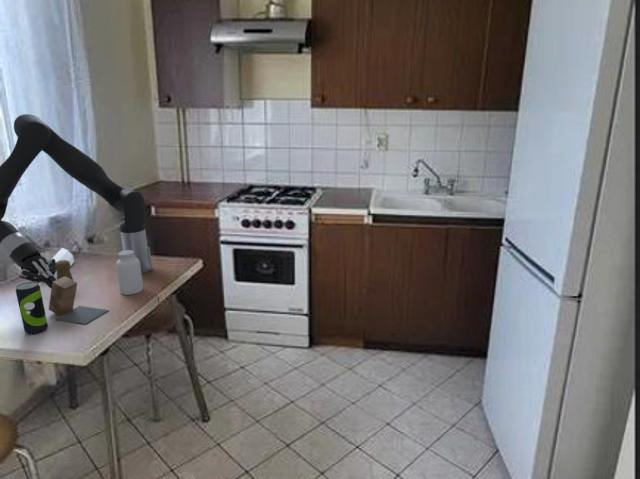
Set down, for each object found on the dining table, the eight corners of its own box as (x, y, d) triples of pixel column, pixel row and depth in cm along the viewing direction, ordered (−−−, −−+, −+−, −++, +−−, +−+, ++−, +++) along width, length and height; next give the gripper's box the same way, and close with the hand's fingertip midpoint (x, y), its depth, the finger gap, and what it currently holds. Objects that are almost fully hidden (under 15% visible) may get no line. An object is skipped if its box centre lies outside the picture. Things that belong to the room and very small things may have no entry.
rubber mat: (55, 319, 152) (55, 318, 152) (79, 306, 161) (79, 305, 161) (85, 324, 148) (85, 323, 148) (108, 311, 157) (108, 310, 157)
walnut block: (48, 309, 155) (52, 281, 151) (60, 302, 160) (64, 275, 155) (60, 316, 154) (64, 288, 150) (72, 309, 159) (77, 282, 154)
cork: (68, 292, 173) (62, 264, 169) (53, 291, 174) (48, 263, 171) (79, 286, 178) (74, 258, 175) (65, 285, 179) (60, 257, 176)
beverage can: (34, 325, 148) (24, 280, 144) (52, 325, 148) (43, 281, 143) (20, 334, 142) (9, 288, 138) (39, 335, 142) (29, 289, 137)
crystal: (63, 271, 183) (79, 252, 206) (44, 264, 181) (62, 245, 203) (56, 287, 184) (72, 266, 207) (37, 280, 182) (55, 260, 204)
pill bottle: (121, 297, 168) (115, 257, 164) (119, 289, 175) (113, 250, 170) (144, 292, 171) (139, 253, 167) (141, 285, 178) (136, 247, 174)
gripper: (32, 250, 162) (67, 286, 162) (-3, 263, 150) (34, 302, 150) (41, 236, 159) (77, 273, 159) (5, 248, 147) (44, 288, 147)
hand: (56, 287), depth 154 cm, fingers closed
